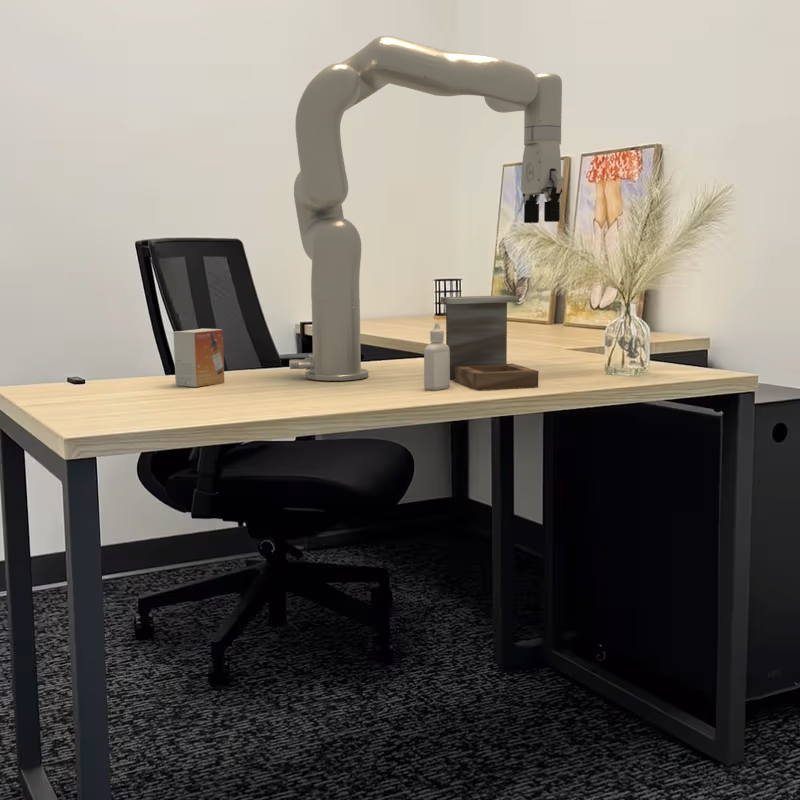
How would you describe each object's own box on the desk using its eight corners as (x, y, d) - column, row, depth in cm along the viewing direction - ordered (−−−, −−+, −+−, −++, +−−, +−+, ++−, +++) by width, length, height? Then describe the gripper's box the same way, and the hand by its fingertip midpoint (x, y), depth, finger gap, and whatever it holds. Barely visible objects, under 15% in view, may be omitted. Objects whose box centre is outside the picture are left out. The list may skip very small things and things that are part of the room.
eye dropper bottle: (456, 389, 177) (456, 323, 175) (428, 391, 175) (428, 324, 173) (445, 385, 181) (445, 321, 179) (418, 387, 179) (418, 323, 177)
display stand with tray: (543, 386, 179) (544, 299, 176) (472, 390, 175) (472, 301, 172) (506, 375, 195) (506, 295, 193) (440, 378, 191) (440, 297, 189)
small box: (196, 388, 182) (193, 332, 180) (174, 386, 185) (172, 331, 183) (225, 382, 188) (223, 328, 187) (204, 380, 191) (202, 327, 190)
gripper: (508, 141, 205) (508, 223, 208) (544, 132, 189) (543, 221, 192) (541, 142, 207) (539, 223, 210) (578, 133, 191) (577, 221, 194)
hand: (541, 222), depth 201 cm, fingers open, 9 cm apart
